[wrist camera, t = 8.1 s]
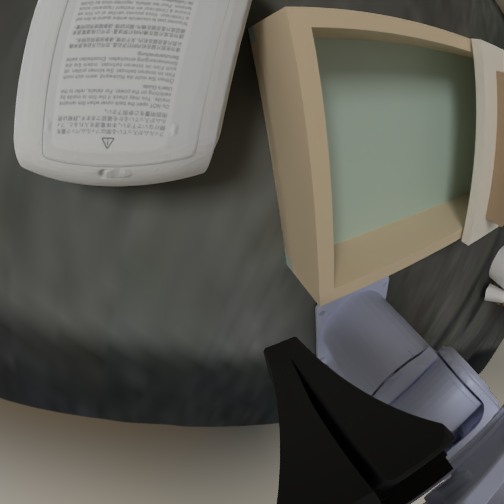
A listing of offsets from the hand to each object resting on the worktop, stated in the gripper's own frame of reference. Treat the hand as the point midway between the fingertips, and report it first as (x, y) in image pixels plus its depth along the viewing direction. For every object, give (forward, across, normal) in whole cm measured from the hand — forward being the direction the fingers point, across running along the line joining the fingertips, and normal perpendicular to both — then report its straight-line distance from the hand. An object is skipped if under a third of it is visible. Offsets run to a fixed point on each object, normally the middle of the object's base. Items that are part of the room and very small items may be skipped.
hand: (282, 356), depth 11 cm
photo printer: (+7, 0, -18) cm, 20 cm away
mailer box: (+9, -17, -5) cm, 20 cm away
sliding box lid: (+4, -31, -5) cm, 31 cm away
